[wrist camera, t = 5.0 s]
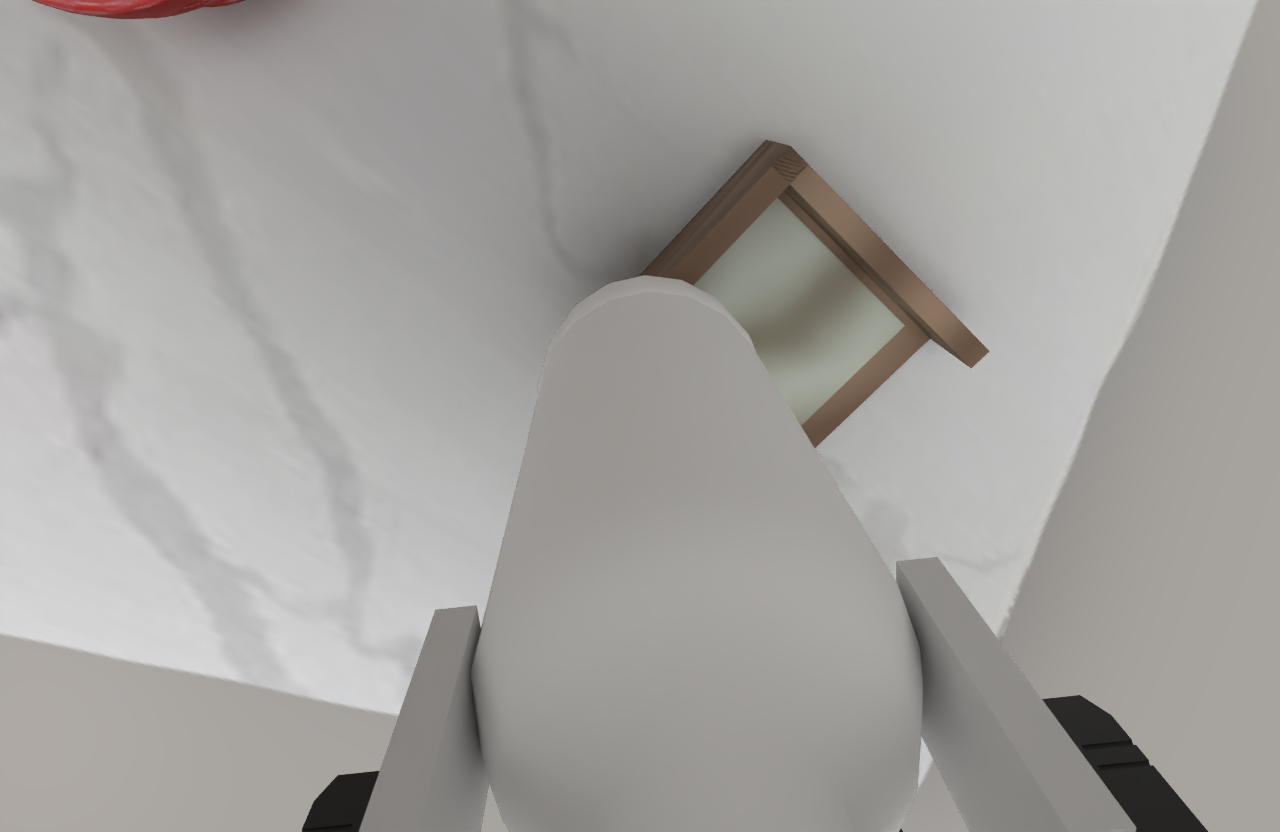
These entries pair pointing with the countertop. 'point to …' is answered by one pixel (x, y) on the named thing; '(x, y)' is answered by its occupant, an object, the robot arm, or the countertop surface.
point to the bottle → (687, 599)
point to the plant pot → (132, 7)
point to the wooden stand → (810, 287)
